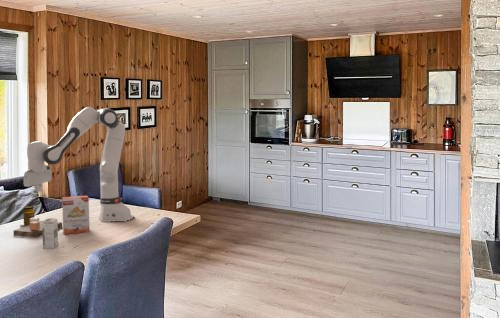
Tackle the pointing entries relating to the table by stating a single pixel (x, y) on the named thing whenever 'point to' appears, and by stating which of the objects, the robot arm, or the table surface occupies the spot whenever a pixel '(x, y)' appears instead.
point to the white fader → (34, 219)
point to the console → (32, 231)
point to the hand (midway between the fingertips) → (38, 191)
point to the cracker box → (75, 214)
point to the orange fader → (34, 225)
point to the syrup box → (50, 233)
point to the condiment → (27, 215)
